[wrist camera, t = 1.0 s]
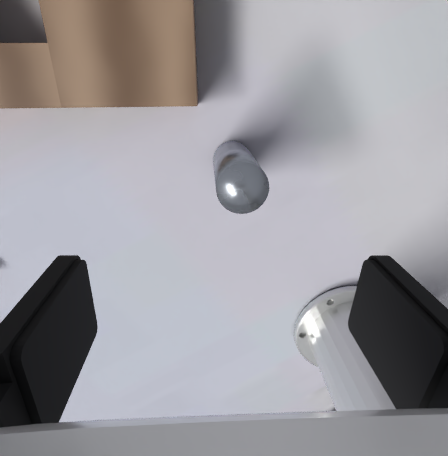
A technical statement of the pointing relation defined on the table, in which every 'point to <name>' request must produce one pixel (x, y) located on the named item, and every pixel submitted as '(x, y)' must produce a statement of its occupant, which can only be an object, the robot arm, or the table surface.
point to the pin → (239, 178)
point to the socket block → (105, 56)
